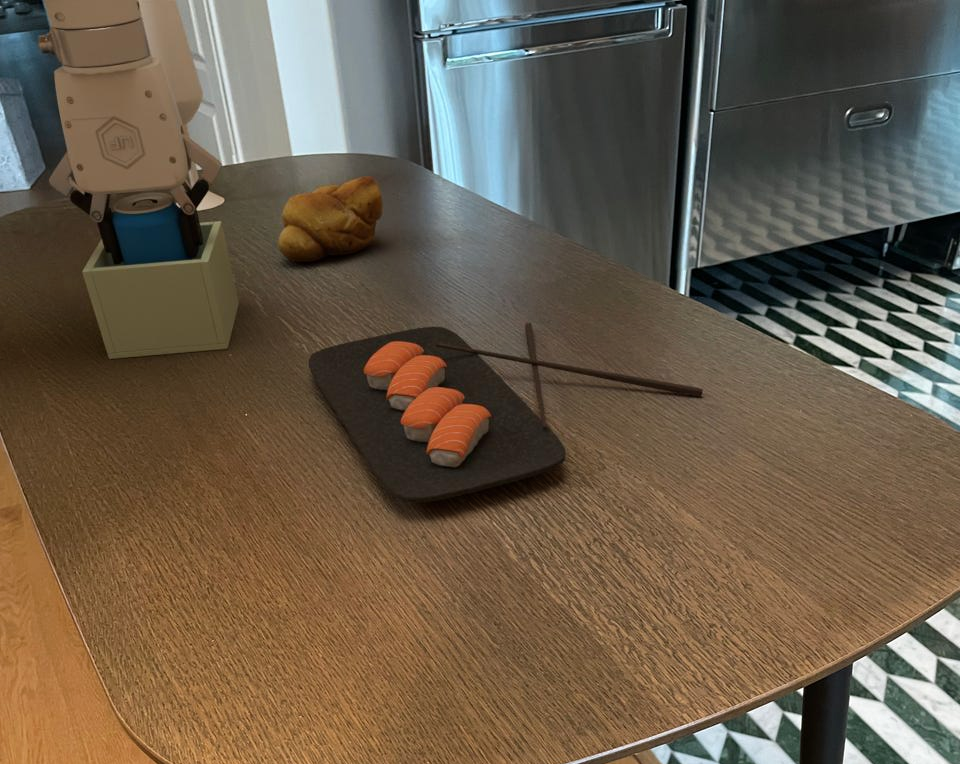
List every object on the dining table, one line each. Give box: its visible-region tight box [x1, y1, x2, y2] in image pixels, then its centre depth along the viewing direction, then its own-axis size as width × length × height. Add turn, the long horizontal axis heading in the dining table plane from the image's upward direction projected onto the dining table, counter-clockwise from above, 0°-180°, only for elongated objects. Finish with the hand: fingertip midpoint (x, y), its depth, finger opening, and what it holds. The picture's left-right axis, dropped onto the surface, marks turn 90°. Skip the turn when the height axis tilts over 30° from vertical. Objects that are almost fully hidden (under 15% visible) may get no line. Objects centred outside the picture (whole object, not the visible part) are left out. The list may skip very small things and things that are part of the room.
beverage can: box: [112, 192, 193, 265], centre depth 98 cm, size 6×6×12 cm
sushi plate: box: [308, 322, 704, 504], centre depth 86 cm, size 29×30×4 cm
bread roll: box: [277, 176, 384, 263], centre depth 116 cm, size 13×10×8 cm
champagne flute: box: [138, 0, 225, 212], centre depth 128 cm, size 7×7×24 cm
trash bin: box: [81, 220, 240, 360], centre depth 100 cm, size 12×12×9 cm
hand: (157, 254), depth 98 cm, fingers closed on beverage can, 6 cm apart
